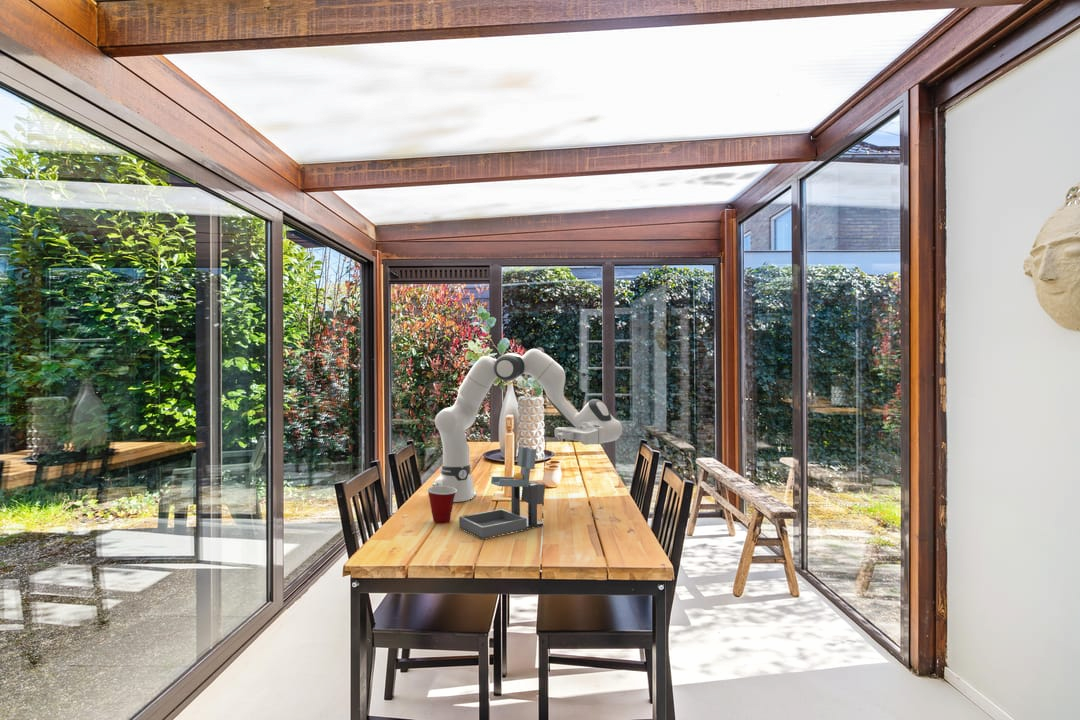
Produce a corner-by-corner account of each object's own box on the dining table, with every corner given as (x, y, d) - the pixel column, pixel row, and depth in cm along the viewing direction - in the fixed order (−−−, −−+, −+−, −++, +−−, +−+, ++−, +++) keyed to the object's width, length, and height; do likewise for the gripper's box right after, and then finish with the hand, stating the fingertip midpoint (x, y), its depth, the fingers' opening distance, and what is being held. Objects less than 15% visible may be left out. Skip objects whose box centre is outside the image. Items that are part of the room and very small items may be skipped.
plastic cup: (451, 526, 207) (451, 492, 207) (422, 524, 210) (422, 491, 209) (461, 518, 218) (461, 485, 218) (433, 516, 220) (433, 484, 220)
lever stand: (505, 520, 215) (505, 479, 215) (521, 517, 219) (521, 477, 219) (526, 529, 204) (526, 486, 204) (543, 525, 208) (543, 484, 208)
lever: (487, 500, 208) (493, 444, 209) (531, 499, 218) (536, 447, 220) (499, 505, 201) (506, 447, 202) (544, 504, 212) (550, 450, 213)
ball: (511, 482, 210) (511, 472, 210) (519, 481, 212) (519, 471, 213) (516, 484, 207) (516, 474, 208) (525, 483, 210) (525, 473, 210)
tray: (459, 528, 206) (459, 516, 205) (502, 519, 216) (502, 508, 216) (482, 539, 192) (482, 527, 192) (526, 530, 203) (526, 518, 203)
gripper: (571, 422, 237) (543, 425, 229) (605, 427, 220) (576, 430, 212) (571, 438, 237) (543, 441, 229) (605, 444, 220) (576, 447, 212)
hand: (559, 436), depth 221 cm, fingers closed
